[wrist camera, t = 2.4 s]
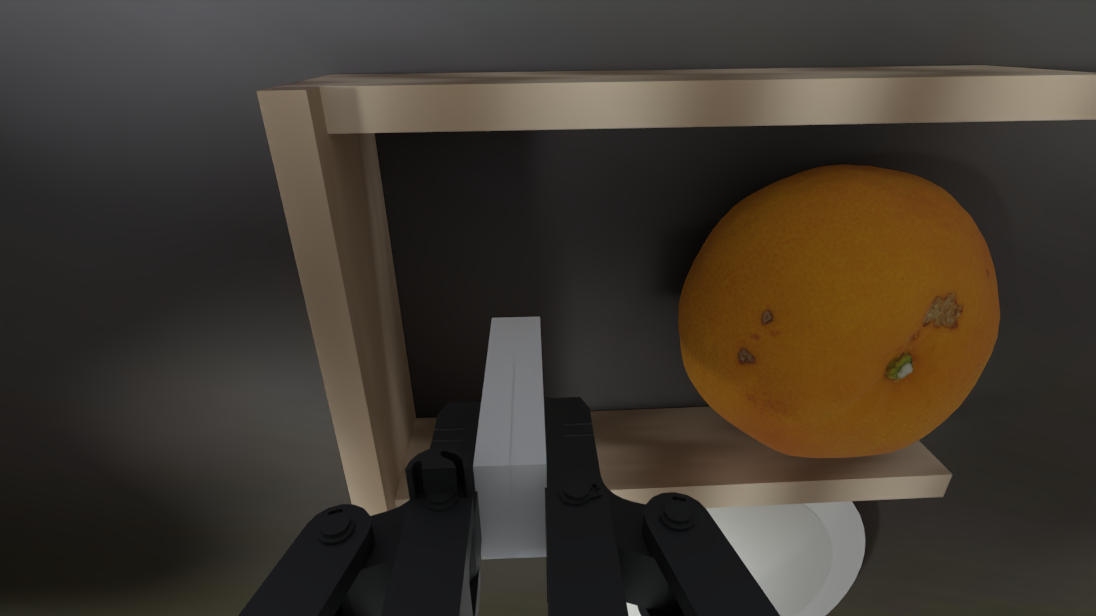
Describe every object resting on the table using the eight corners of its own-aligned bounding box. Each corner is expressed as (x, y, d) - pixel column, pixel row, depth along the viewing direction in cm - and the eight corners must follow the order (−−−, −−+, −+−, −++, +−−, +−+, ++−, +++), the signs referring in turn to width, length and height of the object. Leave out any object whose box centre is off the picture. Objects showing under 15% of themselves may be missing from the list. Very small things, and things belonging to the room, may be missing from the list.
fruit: (957, 240, 23) (1157, 334, 16) (776, 412, 27) (872, 552, 19) (784, 86, 20) (935, 116, 13) (606, 304, 23) (645, 424, 16)
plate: (565, 651, 34) (567, 674, 33) (566, 449, 27) (568, 469, 26) (819, 637, 35) (830, 659, 33) (886, 436, 27) (903, 454, 26)
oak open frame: (393, 439, 26) (361, 545, 21) (330, 74, 19) (256, 90, 14) (872, 420, 27) (960, 516, 22) (984, 64, 20) (1157, 76, 14)
